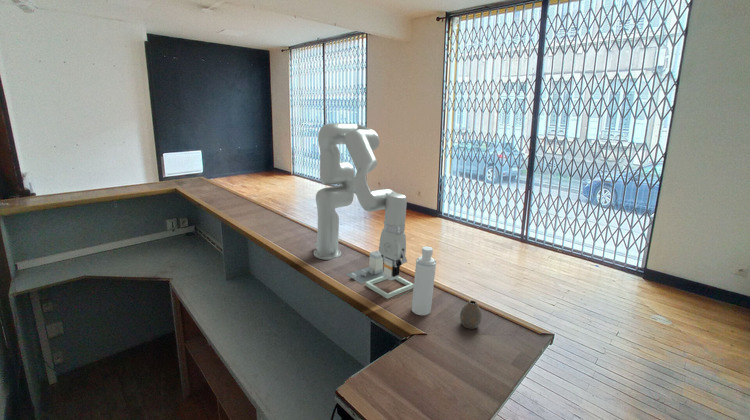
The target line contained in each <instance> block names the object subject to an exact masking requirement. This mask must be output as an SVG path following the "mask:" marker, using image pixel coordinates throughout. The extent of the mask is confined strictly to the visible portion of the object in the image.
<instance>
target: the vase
mask: <svg viewBox="0 0 750 420" xmlns="http://www.w3.org/2000/svg"><path fill="white" fill-rule="evenodd" d="M459 319H460V323H461V325H462V326H463V327H464V328H466V329H469V330H474V329H477V328H478V327H479V326H480V324H481V323H482V319H483V315H482V310H481V309H480V307H479V305H478V303H477V301H476V300H473V299H471V300H469V301H468V302H467V303H466V304H465V305H463V307H462V308H461V311H460V313H459Z"/></svg>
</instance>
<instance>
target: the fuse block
mask: <svg viewBox="0 0 750 420" xmlns="http://www.w3.org/2000/svg"><path fill="white" fill-rule="evenodd" d="M373 270H374V269H372V268H370V267H369V266H366V267H364V268H361V269H358V270H357V269H356V270H355V271H351V272H348V273H345V276H347V277H349V278H350V279H352V280H353V281H355V282H358V283H359V284H360V285H362V284H364V283H365V284H366V282H367V281H370V280H373V279H376V278H378V277H381V276H383V273H384V272H381V273H378V274H374V273H373Z"/></svg>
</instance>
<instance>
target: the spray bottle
mask: <svg viewBox="0 0 750 420" xmlns="http://www.w3.org/2000/svg"><path fill="white" fill-rule="evenodd" d="M433 252H434V249H433V247H431V246H428V245H427V246H422V248H421V256H419V257H417V258H416V259H415V260H416V261H415V270H414V279H413V284H414V288H412V290H413V291H412V301H411V312H413V313H414V314H415V315H419V316H427V315H429V314H431V310H432V301H433V294H434V284H435V278H436V276H435V275H436V268H437V260H435V259H434V258H433V257H432V256H433Z"/></svg>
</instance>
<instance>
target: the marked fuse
mask: <svg viewBox="0 0 750 420" xmlns="http://www.w3.org/2000/svg"><path fill="white" fill-rule="evenodd" d="M397 263H398V260H397ZM393 266H394V260H392V259H390V258H388V257H384V262H383V267H384V273H383V277H385V278H387V279H386V280H389V281H394V280H396V278H398V277H400V274H399V275H397V276H395V277H393V276H392V270H393Z"/></svg>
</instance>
